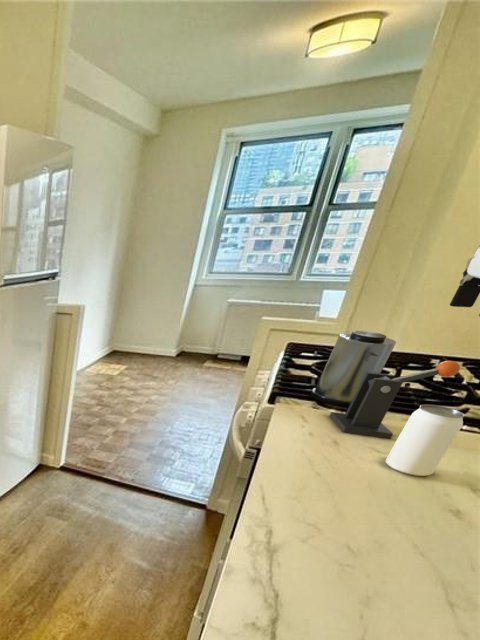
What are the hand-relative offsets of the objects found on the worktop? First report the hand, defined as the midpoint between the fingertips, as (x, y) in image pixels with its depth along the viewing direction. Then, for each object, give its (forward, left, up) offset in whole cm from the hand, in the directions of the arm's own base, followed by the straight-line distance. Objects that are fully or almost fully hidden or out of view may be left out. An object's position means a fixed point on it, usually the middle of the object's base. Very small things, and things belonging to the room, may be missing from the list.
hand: (474, 311), depth 92 cm
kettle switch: (+3, -1, -15) cm, 15 cm away
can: (+6, +18, -26) cm, 33 cm away
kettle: (+6, -19, -26) cm, 33 cm away
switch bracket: (+8, -1, -26) cm, 27 cm away
